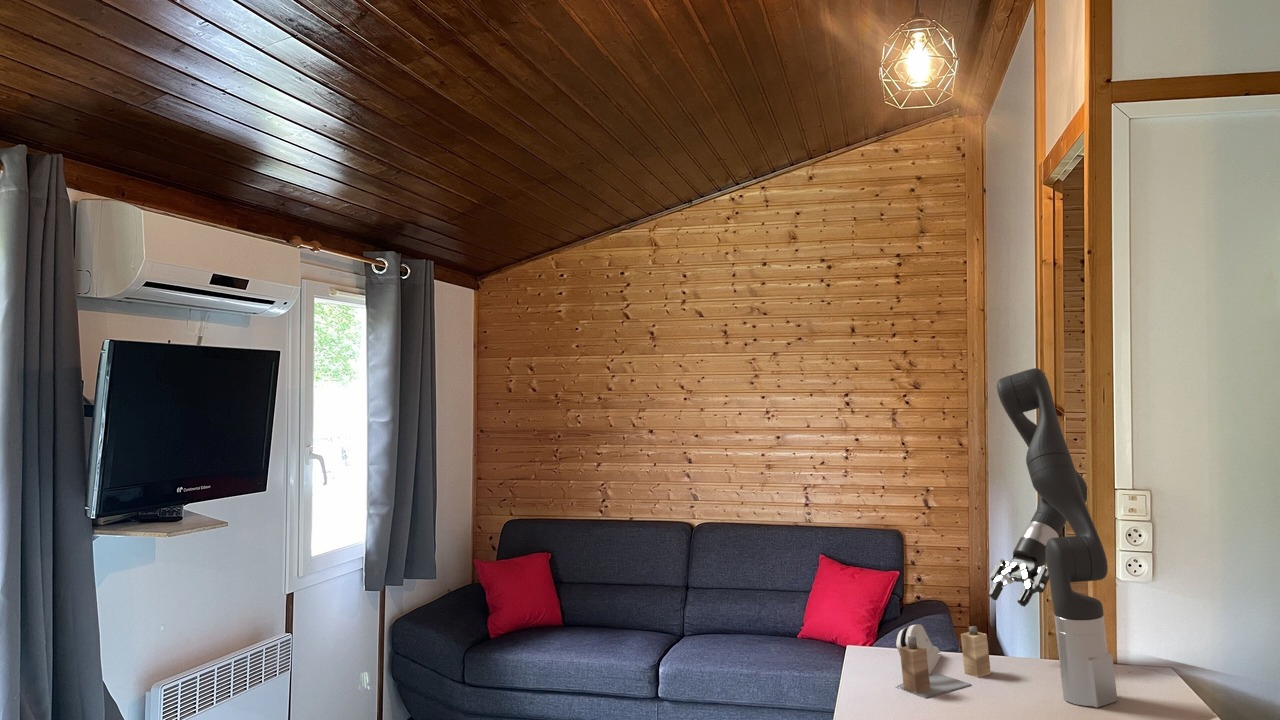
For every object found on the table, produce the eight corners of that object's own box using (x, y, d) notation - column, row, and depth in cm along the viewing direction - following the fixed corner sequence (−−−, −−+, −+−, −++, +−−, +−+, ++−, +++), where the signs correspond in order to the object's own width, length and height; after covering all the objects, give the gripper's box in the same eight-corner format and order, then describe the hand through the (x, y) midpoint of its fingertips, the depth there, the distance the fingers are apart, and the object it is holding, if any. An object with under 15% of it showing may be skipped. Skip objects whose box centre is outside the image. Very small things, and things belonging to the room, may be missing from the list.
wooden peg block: (990, 673, 207) (985, 627, 208) (977, 677, 205) (972, 630, 206) (977, 669, 211) (972, 623, 211) (964, 673, 209) (959, 627, 210)
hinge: (929, 675, 210) (910, 633, 212) (910, 681, 212) (891, 639, 214) (941, 654, 225) (923, 615, 227) (923, 660, 227) (906, 621, 229)
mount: (971, 685, 201) (965, 632, 201) (926, 698, 195) (920, 643, 196) (938, 674, 210) (933, 623, 210) (894, 686, 204) (889, 634, 205)
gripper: (1003, 532, 224) (974, 587, 219) (1051, 538, 212) (1021, 597, 206) (1021, 551, 226) (992, 605, 221) (1069, 558, 214) (1040, 616, 208)
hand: (1006, 601), depth 214 cm, fingers open, 8 cm apart
